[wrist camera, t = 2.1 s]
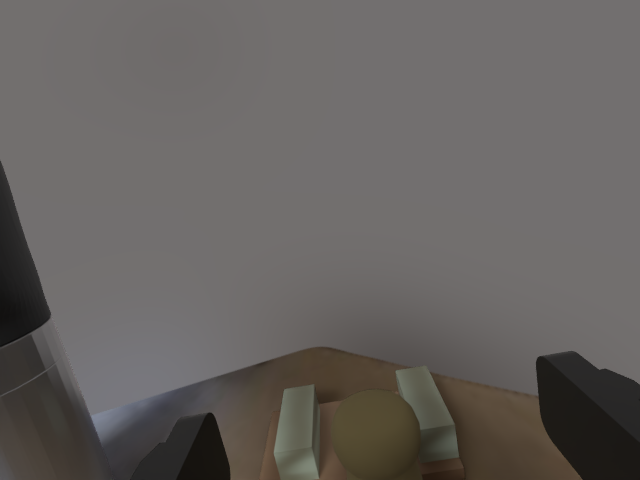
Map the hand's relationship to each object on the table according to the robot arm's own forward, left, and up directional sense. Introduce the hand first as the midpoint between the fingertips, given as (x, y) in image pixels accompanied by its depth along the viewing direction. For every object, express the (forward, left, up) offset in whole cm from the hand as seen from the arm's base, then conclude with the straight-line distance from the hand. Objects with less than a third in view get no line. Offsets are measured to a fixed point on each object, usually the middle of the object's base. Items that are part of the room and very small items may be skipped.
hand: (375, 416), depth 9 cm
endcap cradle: (-1, +20, -19) cm, 28 cm away
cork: (0, +11, -19) cm, 22 cm away
